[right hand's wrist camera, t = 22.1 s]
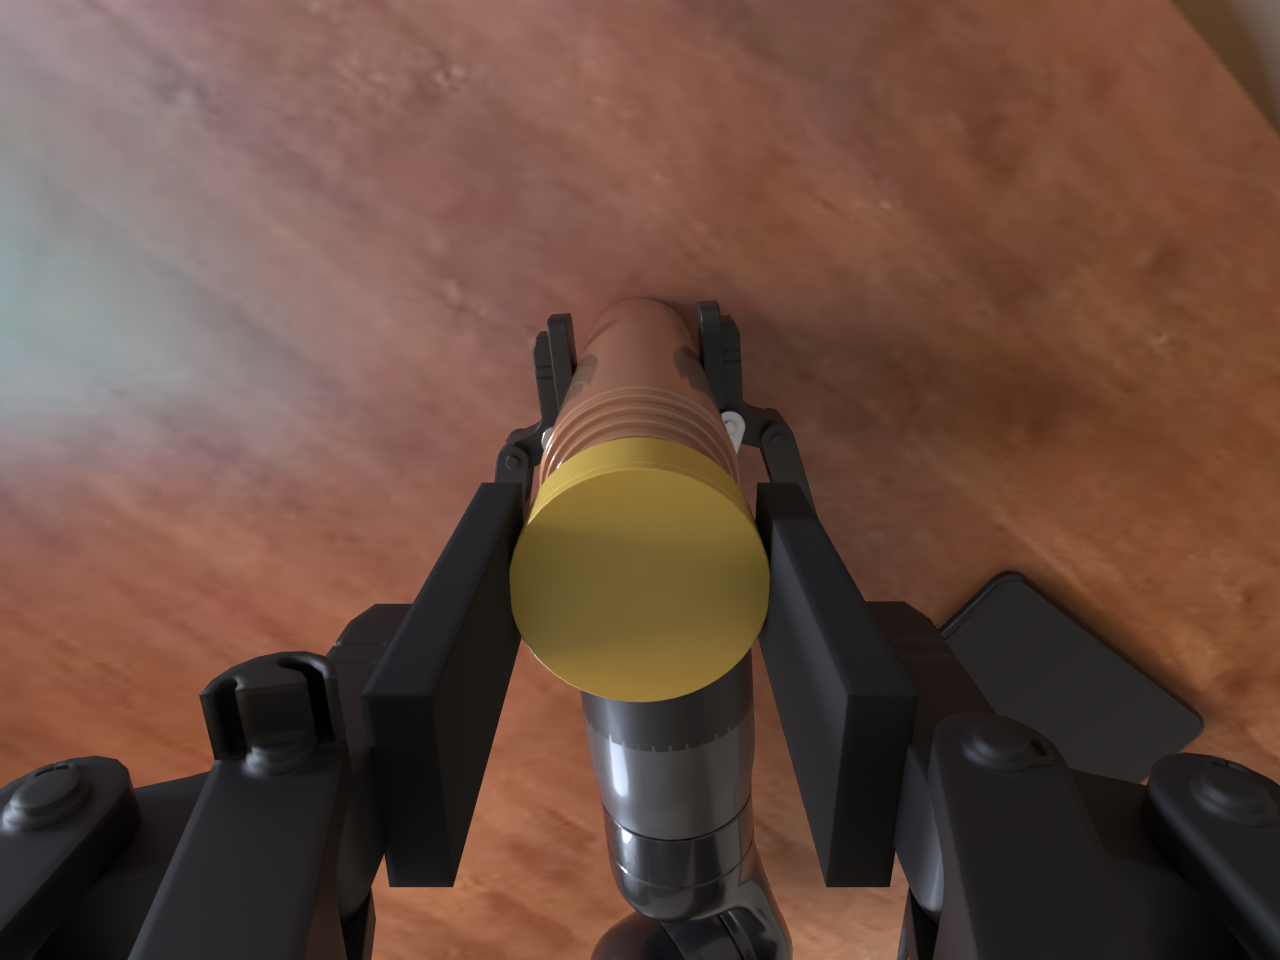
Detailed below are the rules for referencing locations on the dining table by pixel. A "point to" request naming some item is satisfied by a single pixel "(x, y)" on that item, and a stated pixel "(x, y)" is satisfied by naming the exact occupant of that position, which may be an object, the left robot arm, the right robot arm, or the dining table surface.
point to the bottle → (639, 389)
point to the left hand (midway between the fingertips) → (632, 312)
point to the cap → (639, 571)
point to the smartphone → (1067, 681)
